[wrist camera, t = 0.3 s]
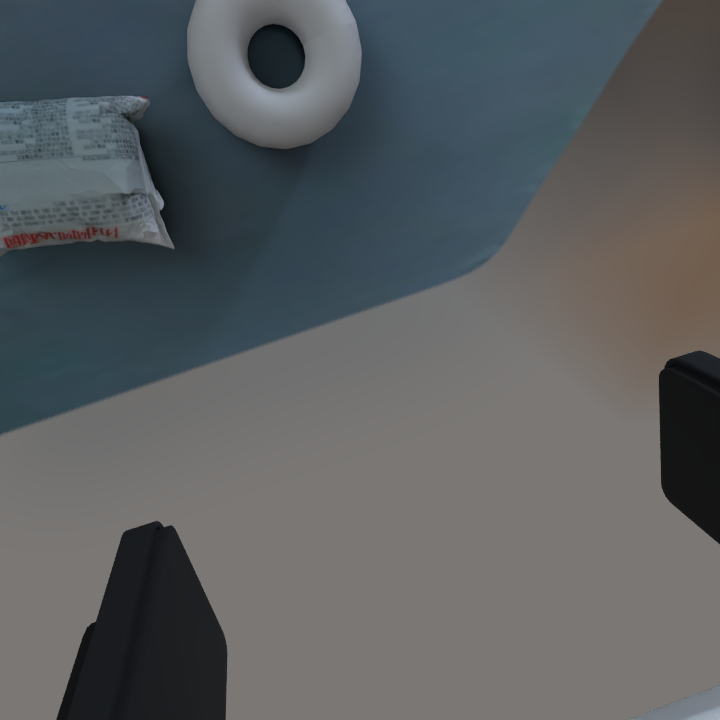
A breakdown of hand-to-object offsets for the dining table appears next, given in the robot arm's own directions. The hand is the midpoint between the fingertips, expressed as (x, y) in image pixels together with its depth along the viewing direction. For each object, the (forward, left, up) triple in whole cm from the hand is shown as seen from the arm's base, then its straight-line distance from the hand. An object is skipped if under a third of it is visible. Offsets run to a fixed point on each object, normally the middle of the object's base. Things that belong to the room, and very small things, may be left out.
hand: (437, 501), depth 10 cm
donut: (-11, +2, -31) cm, 32 cm away
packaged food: (-7, -12, -31) cm, 34 cm away
